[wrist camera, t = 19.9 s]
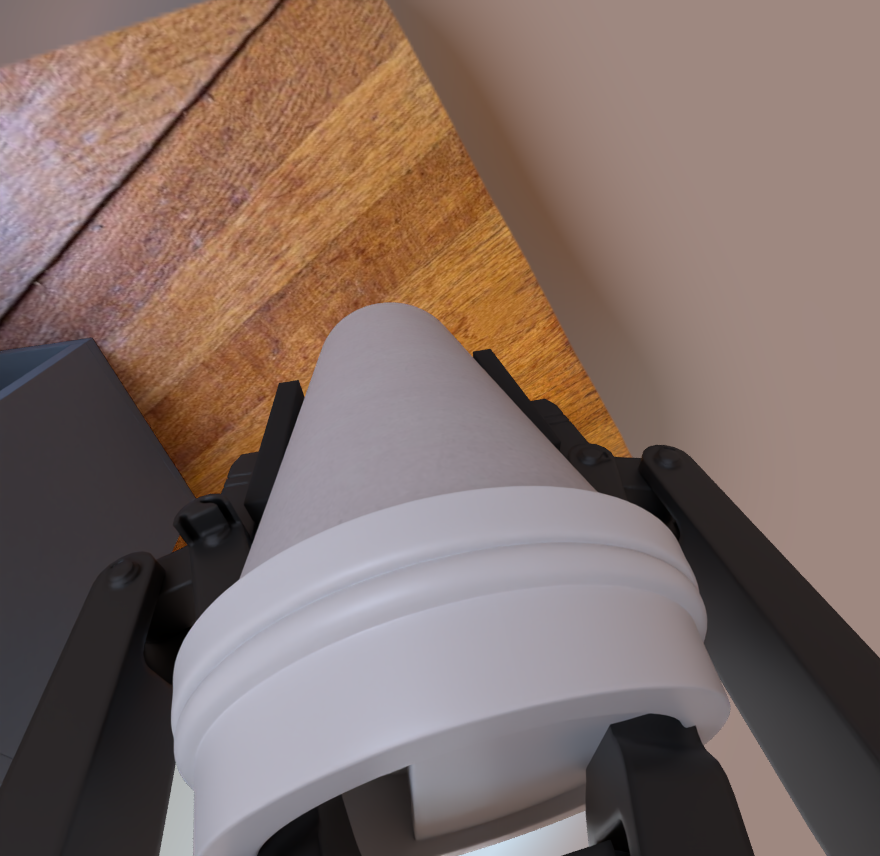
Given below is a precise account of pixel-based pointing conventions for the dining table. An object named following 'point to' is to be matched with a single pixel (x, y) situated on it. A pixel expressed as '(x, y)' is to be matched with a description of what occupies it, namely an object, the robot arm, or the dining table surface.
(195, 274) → the dining table surface
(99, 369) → the cupboard
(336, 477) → the coffee cup
